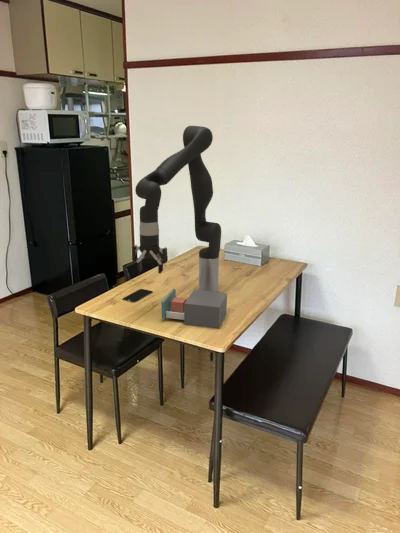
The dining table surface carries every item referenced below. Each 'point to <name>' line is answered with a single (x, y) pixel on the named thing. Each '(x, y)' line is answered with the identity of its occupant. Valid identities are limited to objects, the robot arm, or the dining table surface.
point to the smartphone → (137, 295)
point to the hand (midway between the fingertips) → (150, 271)
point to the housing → (205, 309)
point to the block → (178, 304)
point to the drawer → (167, 307)
